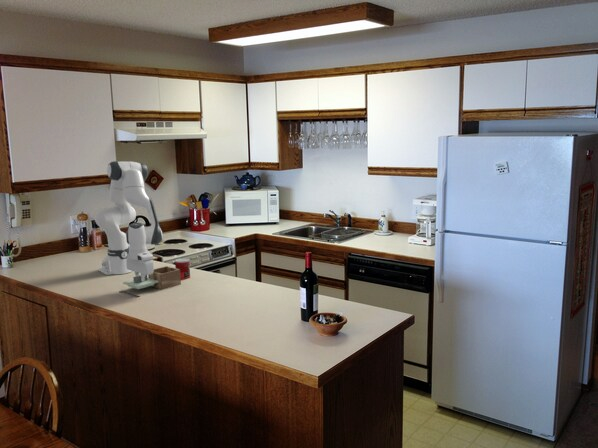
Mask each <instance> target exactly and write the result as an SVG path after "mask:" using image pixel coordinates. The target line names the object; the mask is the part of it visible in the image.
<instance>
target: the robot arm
mask: <svg viewBox="0 0 598 448" xmlns="http://www.w3.org/2000/svg"><path fill="white" fill-rule="evenodd" d="M106 173H107V176H108V178H109V179H110V184H109V193H108V197H109V199H110V201H111V202H114V207H113V206H112V207H107V208H103V209H100V210H98V211H96V213H95V215H94V222H95V224H96V225H97V227H99V228H101V229H102V230H103V231H104V232H105V235H106V239H107V244H108V245H107V246H108V249H106V251H107V255H106V256H105V257H104V259H103V260H102V261H101V266H102V267H99V268H98V271H99V272H101V274H104V275H106V276H108V275H109V276H111V275H125V274H129V273H131V272H133V273H134V275H135V277H136V276H140V275H141V278H140V281H144V280H145V278H144V277H145V275H147V276H148V275H150V274H153V272H154V269H155V268H154V255H153V254H152V253H150V252H149V250H148V247H147V245H150V246H151V245H154V246H155V245H156V246H157V245H159V244H160V243H161V242H162V241H163V238H164V237H163V236H164V235H163V231H162V229H161V227H160V223H159V219H158V215H157V211H156V208H155V206H154V202H153V198H151V196H148V195H147V193H146V189H145V182H144V181H145V180H146V179H147V178H148V175H149V168H148V166H147V164H145V163H143V162H136V161H124V160H123V161H116V160H114V161H110V162H109V163H108V165H107V168H106ZM133 206H134V207H137V208H141V209H144V210H145V211H146V212H147V213H148V216H149V220H150V224H151V225H149V226H145V225H144V224H143V223H141V222H134V221H135V220H136V217H137V211H136V210H135V208H134V207H133ZM131 222H133V223H131ZM129 223H130V224H129ZM127 224H129V225H128V230H126V232H124V231H121V229H120V226H121V225H127Z"/></svg>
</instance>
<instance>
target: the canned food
mask: <svg viewBox="0 0 598 448" xmlns="http://www.w3.org/2000/svg"><path fill="white" fill-rule="evenodd" d="M174 262H175V263H174V265H175V266H174V268H176V269H180V276H181V280H188V279H191V267H190V264H191V263H190V259H189V258H177V259H175V260H174Z"/></svg>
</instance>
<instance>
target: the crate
mask: <svg viewBox="0 0 598 448" xmlns="http://www.w3.org/2000/svg"><path fill="white" fill-rule="evenodd" d="M147 278H151V279H154V280H158V281H159V282H157V283H154V285H152V286H151V287H153V288H157V289H160V290H167V289H170V288H173V287H176V286H177V287H178V286H180V285H181V284H182V281H181V280H182V279H181V276H180V269H176V268H175V267H172V266H168V265H167V266H166V265H165V266H162V267H158V268H154V272H153V274H150V275H147Z"/></svg>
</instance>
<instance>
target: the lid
mask: <svg viewBox="0 0 598 448" xmlns="http://www.w3.org/2000/svg"><path fill="white" fill-rule="evenodd" d="M139 275H140V276H136V275H135V276H133V279H130V280H126V281H123V282H122V285H126V286H128V287H129V288H130V287H131V288H133V289H136V290H140V289H144V288H148V287H152V285H154V283H157V282H159V281H158V280H154V279H151V278H149V277H148V275H145V277H144V278H145V280H144V281H140V278H141V274H139Z"/></svg>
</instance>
